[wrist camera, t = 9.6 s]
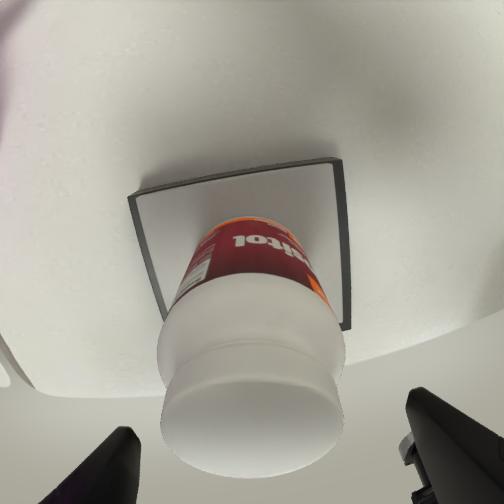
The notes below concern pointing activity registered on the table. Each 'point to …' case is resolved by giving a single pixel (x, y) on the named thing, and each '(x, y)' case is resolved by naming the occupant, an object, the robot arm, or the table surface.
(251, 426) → the pill bottle
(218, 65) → the table surface
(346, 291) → the scale
